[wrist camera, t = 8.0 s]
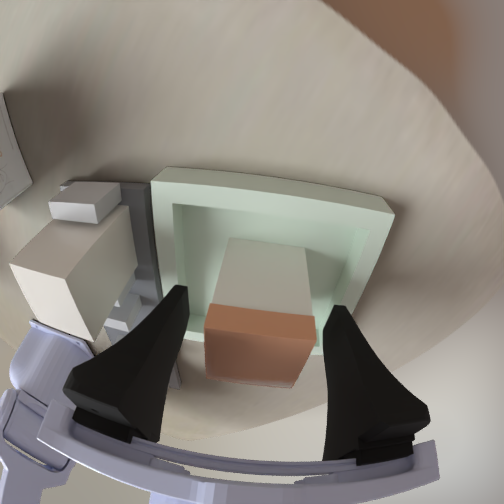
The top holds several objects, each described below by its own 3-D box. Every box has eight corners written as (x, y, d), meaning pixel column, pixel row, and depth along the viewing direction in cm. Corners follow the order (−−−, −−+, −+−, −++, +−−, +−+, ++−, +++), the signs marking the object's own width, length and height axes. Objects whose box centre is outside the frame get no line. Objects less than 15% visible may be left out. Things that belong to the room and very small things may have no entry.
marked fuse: (224, 292, 17) (206, 378, 12) (228, 236, 14) (203, 326, 9) (290, 301, 17) (291, 388, 12) (305, 247, 14) (316, 340, 9)
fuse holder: (131, 372, 26) (123, 396, 24) (66, 176, 13) (32, 200, 10) (181, 384, 26) (175, 410, 24) (149, 178, 13) (119, 206, 10)
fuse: (87, 256, 16) (39, 321, 11) (73, 201, 13) (8, 263, 8) (138, 264, 15) (94, 342, 11) (128, 205, 13) (65, 279, 8)
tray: (178, 315, 19) (170, 336, 17) (166, 166, 13) (150, 181, 11) (326, 333, 19) (329, 355, 17) (381, 196, 13) (395, 214, 11)
